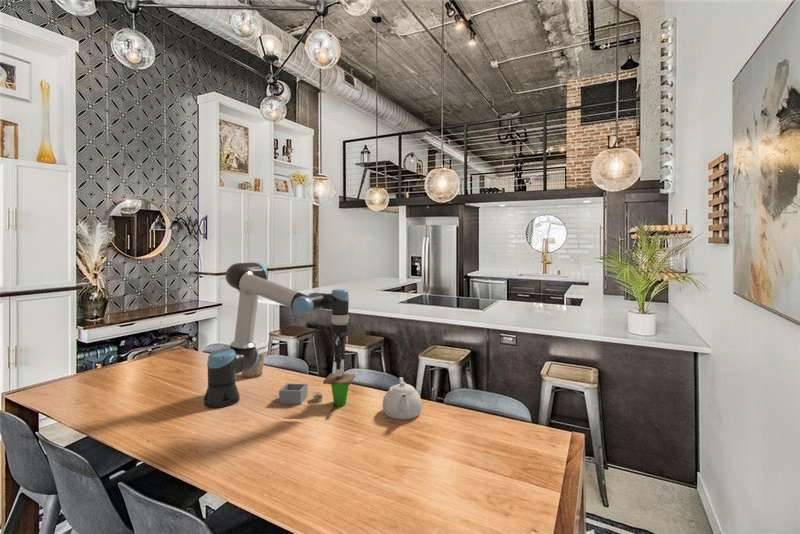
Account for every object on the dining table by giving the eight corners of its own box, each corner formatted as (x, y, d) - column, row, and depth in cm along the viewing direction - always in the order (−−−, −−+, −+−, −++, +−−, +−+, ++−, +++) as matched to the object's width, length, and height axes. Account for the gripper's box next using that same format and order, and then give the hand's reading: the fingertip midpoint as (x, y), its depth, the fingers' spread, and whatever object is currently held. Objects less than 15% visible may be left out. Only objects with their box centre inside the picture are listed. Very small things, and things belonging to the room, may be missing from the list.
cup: (351, 401, 186) (351, 378, 185) (347, 408, 177) (347, 384, 176) (332, 400, 186) (333, 377, 186) (327, 408, 177) (327, 383, 177)
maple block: (313, 404, 182) (313, 395, 182) (312, 401, 186) (313, 392, 186) (322, 403, 183) (322, 394, 183) (321, 400, 187) (321, 392, 187)
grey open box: (279, 405, 180) (279, 390, 179) (287, 397, 189) (287, 383, 189) (300, 406, 179) (300, 391, 179) (307, 398, 189) (307, 383, 188)
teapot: (432, 412, 174) (432, 381, 173) (403, 425, 160) (404, 392, 160) (400, 401, 186) (401, 372, 186) (372, 412, 173) (372, 381, 172)
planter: (259, 379, 217) (259, 360, 217) (236, 378, 218) (236, 359, 217) (267, 372, 230) (267, 354, 230) (245, 371, 230) (245, 354, 230)
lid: (323, 383, 176) (323, 363, 175) (330, 375, 188) (330, 356, 187) (349, 384, 175) (350, 364, 174) (355, 376, 187) (355, 357, 186)
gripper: (344, 327, 172) (343, 380, 173) (351, 320, 188) (351, 369, 189) (327, 326, 172) (327, 379, 173) (336, 320, 189) (335, 369, 189)
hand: (339, 374), depth 181 cm, fingers closed on lid, 3 cm apart
